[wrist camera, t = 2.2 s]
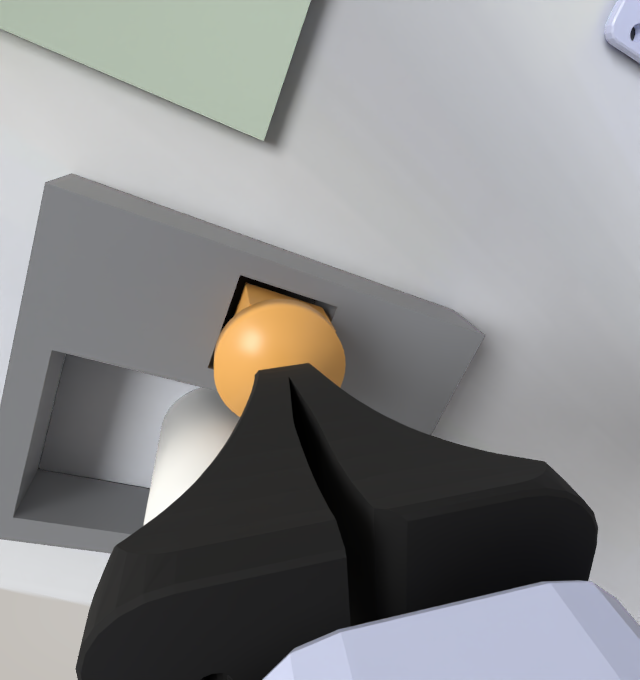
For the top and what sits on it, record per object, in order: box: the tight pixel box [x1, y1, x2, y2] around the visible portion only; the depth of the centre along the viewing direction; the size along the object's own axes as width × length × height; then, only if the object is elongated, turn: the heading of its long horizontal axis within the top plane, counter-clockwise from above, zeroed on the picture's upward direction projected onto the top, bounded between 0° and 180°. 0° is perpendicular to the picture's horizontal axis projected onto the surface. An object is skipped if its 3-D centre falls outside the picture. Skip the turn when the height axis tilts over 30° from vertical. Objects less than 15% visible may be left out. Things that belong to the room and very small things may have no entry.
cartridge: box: [143, 387, 240, 526], centre depth 16 cm, size 4×4×7 cm
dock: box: [0, 174, 485, 553], centre depth 18 cm, size 14×12×2 cm
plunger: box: [214, 283, 346, 417], centre depth 14 cm, size 4×4×3 cm
